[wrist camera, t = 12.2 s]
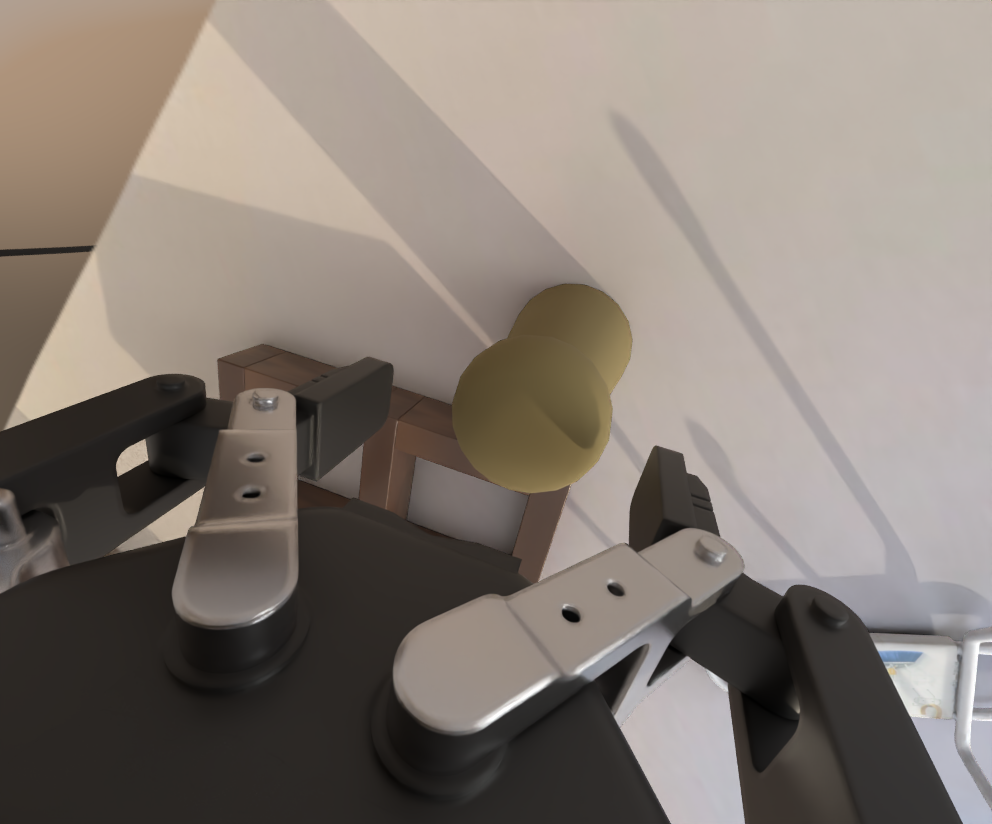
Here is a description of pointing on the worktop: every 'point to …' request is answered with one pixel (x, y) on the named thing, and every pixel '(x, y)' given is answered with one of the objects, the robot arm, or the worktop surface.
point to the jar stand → (393, 449)
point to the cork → (544, 391)
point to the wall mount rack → (936, 683)
